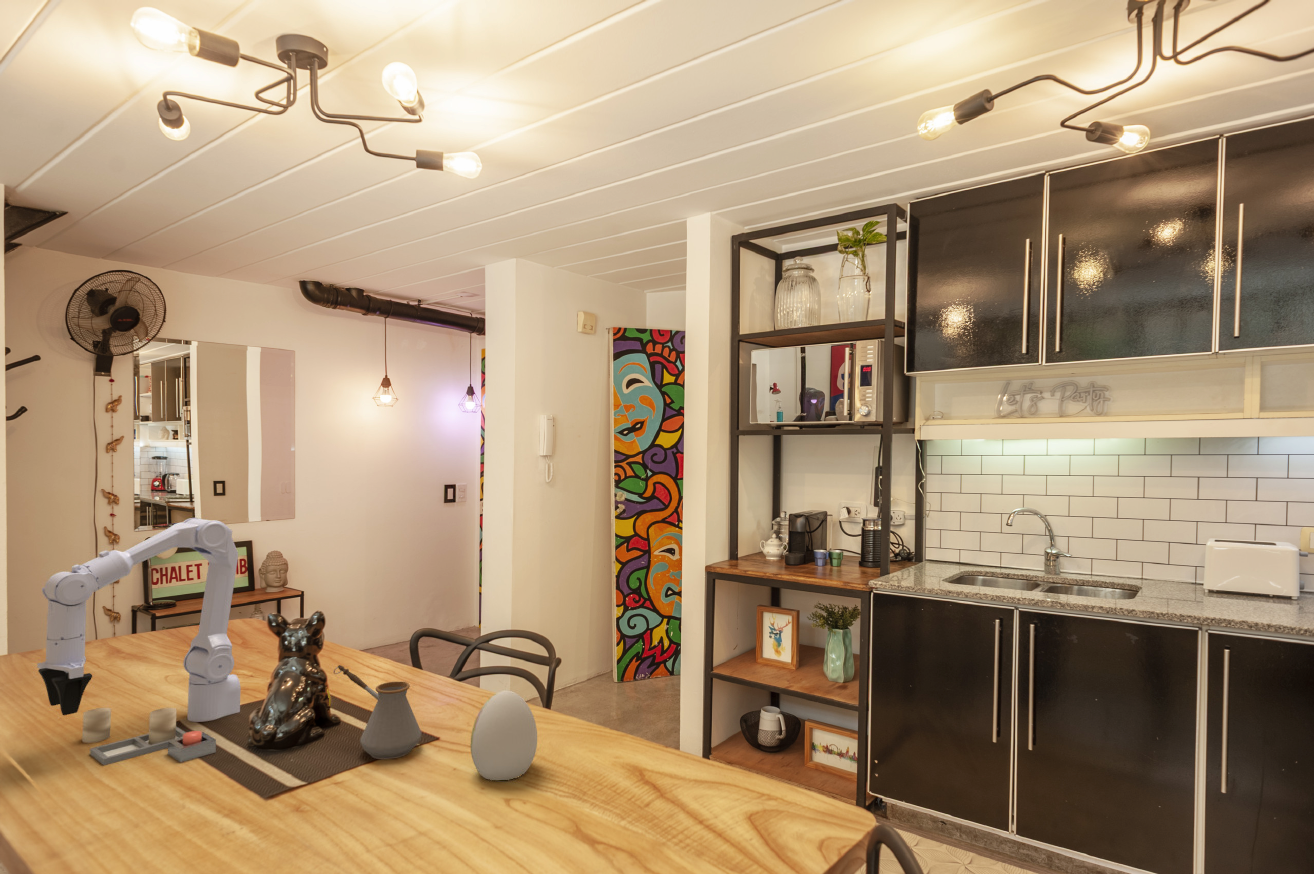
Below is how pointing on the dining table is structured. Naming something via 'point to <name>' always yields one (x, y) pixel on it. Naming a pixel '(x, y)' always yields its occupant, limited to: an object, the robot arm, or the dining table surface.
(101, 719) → the billet
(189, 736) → the button
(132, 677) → the dining table surface
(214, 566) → the robot arm
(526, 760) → the decorative egg
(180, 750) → the button housing
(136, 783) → the dining table surface
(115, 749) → the shallow grey tray
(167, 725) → the cylinder
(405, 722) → the coffee pot
